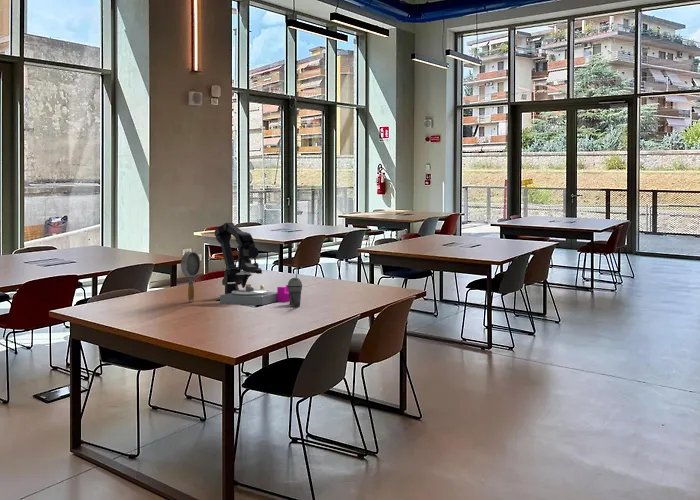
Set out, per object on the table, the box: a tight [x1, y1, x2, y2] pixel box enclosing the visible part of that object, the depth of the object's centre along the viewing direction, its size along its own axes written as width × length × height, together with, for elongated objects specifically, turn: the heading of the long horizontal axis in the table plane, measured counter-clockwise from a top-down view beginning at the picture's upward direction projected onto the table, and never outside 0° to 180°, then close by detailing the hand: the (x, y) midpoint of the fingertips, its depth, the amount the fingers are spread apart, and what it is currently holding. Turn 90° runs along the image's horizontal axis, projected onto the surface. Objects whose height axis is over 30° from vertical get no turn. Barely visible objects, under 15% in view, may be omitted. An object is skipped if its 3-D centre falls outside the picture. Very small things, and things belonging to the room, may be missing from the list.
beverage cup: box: [287, 268, 303, 309], centre depth 314 cm, size 7×7×20 cm
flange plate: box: [232, 283, 269, 295], centre depth 325 cm, size 20×18×4 cm
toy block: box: [276, 284, 290, 303], centre depth 333 cm, size 15×6×8 cm, turn 166°
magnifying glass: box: [180, 251, 201, 302], centre depth 330 cm, size 13×3×25 cm, turn 160°
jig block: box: [219, 291, 278, 306], centre depth 326 cm, size 23×23×4 cm
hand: (243, 287), depth 332 cm, fingers closed
